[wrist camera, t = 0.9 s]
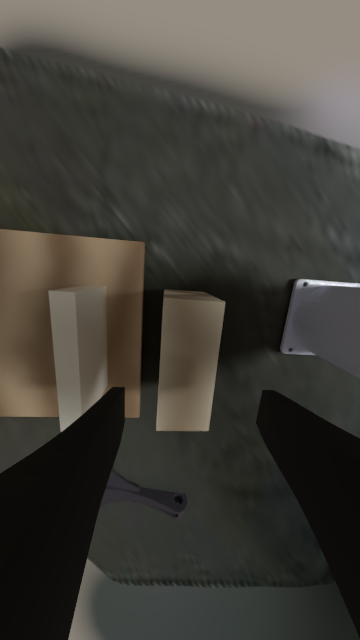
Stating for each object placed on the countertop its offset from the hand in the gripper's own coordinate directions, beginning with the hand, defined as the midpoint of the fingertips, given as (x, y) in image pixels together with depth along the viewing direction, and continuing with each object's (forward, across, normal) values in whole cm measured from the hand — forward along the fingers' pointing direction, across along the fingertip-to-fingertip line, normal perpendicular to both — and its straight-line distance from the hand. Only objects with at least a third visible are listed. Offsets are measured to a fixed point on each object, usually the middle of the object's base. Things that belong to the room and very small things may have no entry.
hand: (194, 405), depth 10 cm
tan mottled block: (+10, 0, 0) cm, 11 cm away
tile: (+9, +8, 0) cm, 12 cm away
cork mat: (+10, +12, 0) cm, 16 cm away
